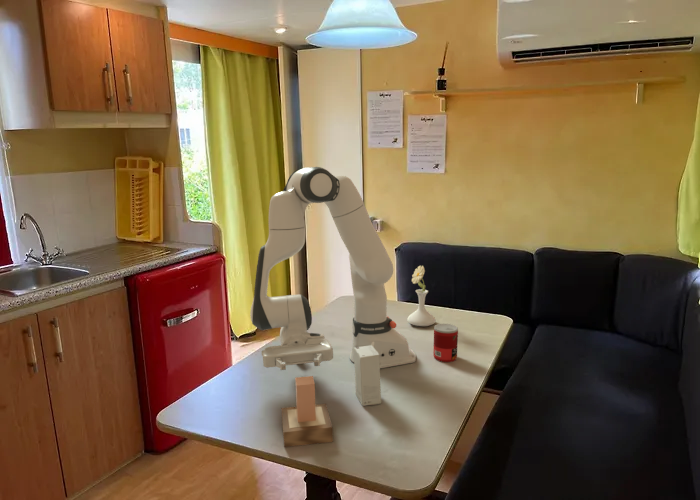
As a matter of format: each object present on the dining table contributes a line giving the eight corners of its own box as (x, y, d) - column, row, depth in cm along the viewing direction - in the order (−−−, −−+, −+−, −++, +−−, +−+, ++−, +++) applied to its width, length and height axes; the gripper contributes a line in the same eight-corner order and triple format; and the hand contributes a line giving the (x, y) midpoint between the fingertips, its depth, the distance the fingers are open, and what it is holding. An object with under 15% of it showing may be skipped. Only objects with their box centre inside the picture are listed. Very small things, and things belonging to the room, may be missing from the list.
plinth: (326, 417, 143) (326, 403, 142) (332, 441, 131) (332, 426, 130) (281, 421, 141) (281, 407, 140) (284, 447, 129) (283, 431, 128)
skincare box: (381, 404, 149) (381, 355, 146) (360, 407, 148) (360, 357, 145) (373, 390, 157) (373, 344, 154) (353, 393, 156) (353, 346, 153)
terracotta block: (313, 411, 138) (312, 376, 136) (315, 420, 133) (314, 383, 131) (296, 413, 137) (295, 377, 135) (297, 422, 133) (296, 385, 130)
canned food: (456, 363, 176) (458, 332, 173) (432, 361, 177) (433, 330, 175) (457, 354, 183) (458, 324, 181) (433, 352, 185) (434, 322, 182)
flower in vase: (407, 318, 219) (408, 260, 214) (435, 319, 218) (436, 260, 213) (406, 329, 207) (407, 267, 202) (435, 330, 205) (437, 268, 200)
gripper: (260, 340, 157) (261, 359, 143) (328, 333, 160) (335, 350, 147) (262, 360, 158) (263, 380, 145) (329, 352, 161) (336, 371, 148)
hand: (300, 365), depth 146 cm, fingers open, 8 cm apart
